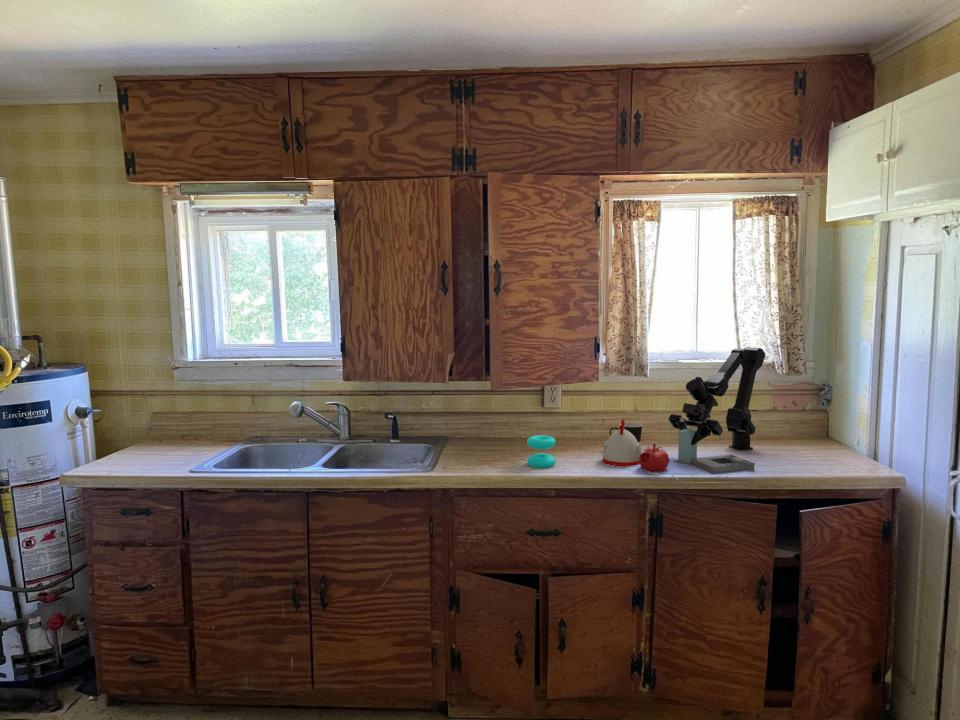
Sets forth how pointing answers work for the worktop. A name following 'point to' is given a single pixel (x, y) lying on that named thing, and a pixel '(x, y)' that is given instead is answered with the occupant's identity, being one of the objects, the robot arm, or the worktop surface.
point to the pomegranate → (654, 459)
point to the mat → (683, 462)
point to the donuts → (541, 459)
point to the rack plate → (722, 464)
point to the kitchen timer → (622, 448)
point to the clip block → (686, 446)
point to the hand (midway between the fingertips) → (685, 443)
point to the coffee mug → (632, 430)
